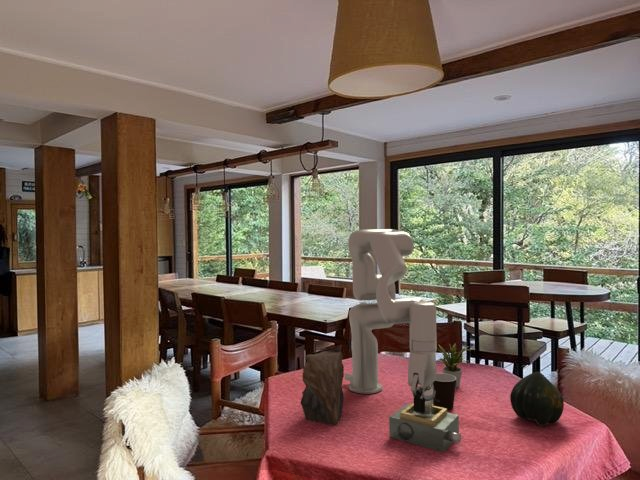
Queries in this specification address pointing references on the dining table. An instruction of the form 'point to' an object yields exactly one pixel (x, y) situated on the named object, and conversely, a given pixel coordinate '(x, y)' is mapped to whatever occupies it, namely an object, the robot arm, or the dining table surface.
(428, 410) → the silver lidded pot
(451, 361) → the house plant
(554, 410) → the squash
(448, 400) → the coffee mug
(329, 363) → the brown rock
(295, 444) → the dining table surface
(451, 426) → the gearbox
